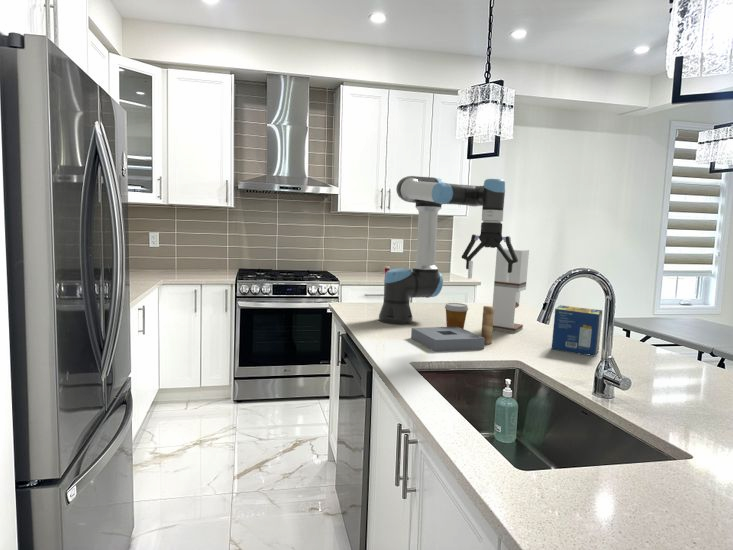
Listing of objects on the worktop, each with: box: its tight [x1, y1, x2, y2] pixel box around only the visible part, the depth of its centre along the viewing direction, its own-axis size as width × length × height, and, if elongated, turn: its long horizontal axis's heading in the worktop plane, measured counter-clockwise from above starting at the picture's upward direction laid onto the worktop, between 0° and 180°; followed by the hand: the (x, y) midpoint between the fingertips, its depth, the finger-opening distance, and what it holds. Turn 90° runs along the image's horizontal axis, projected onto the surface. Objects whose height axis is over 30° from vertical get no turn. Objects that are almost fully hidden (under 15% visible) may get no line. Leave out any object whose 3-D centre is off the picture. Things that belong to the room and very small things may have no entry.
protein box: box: [550, 304, 603, 356], centre depth 192 cm, size 10×15×16 cm
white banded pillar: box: [491, 247, 530, 334], centre depth 223 cm, size 11×11×35 cm
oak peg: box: [480, 305, 494, 345], centre depth 196 cm, size 4×4×14 cm
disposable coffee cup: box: [444, 302, 469, 330], centre depth 211 cm, size 10×10×12 cm
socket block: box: [410, 326, 485, 352], centre depth 193 cm, size 20×20×4 cm
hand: (487, 280), depth 190 cm, fingers open, 13 cm apart
